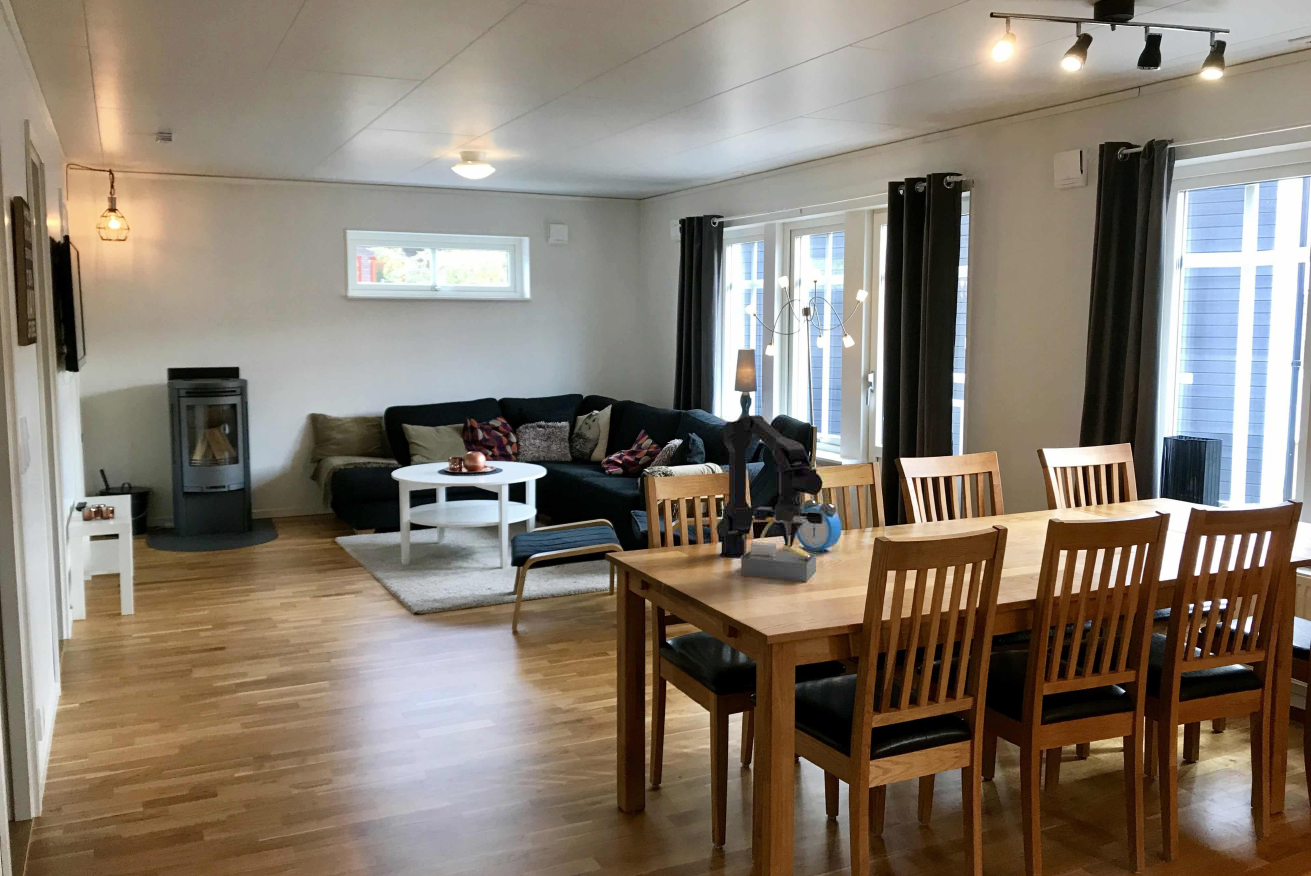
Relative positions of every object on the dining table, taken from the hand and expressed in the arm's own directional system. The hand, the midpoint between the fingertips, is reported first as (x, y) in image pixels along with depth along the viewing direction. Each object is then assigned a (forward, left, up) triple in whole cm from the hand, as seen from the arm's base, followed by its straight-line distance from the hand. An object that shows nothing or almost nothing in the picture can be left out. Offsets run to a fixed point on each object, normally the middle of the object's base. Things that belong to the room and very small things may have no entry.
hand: (789, 546), depth 282 cm
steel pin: (-7, 0, -7) cm, 10 cm away
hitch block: (-3, 0, -8) cm, 8 cm away
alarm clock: (+1, +33, -8) cm, 34 cm away
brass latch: (+2, 0, -1) cm, 3 cm away
